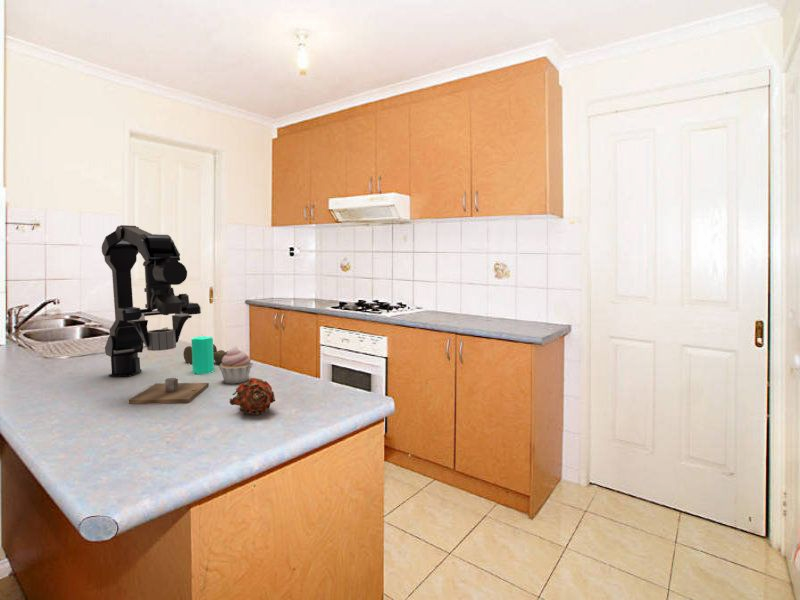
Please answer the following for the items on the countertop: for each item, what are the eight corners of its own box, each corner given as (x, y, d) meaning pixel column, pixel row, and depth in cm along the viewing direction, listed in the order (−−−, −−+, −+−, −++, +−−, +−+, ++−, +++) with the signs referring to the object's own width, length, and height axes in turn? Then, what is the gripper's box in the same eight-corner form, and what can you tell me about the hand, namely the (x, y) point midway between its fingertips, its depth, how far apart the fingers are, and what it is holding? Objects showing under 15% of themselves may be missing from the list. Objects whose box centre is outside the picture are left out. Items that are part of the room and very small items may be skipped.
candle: (206, 374, 137) (204, 335, 136) (188, 373, 139) (186, 334, 137) (218, 369, 143) (216, 331, 142) (200, 368, 144) (199, 330, 143)
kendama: (218, 370, 144) (175, 361, 153) (241, 365, 153) (199, 356, 162) (218, 352, 144) (175, 344, 153) (241, 347, 152) (199, 340, 161)
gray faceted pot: (142, 351, 115) (141, 331, 115) (155, 345, 122) (153, 327, 122) (169, 350, 116) (168, 330, 115) (180, 345, 123) (179, 327, 122)
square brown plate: (128, 403, 111) (128, 387, 110) (155, 387, 125) (155, 372, 124) (188, 403, 112) (188, 386, 111) (208, 386, 125) (208, 371, 125)
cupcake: (260, 380, 131) (259, 346, 130) (230, 387, 124) (229, 351, 123) (242, 374, 137) (241, 341, 136) (212, 381, 130) (211, 346, 129)
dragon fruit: (266, 427, 101) (239, 421, 109) (291, 397, 106) (263, 393, 114) (242, 401, 97) (216, 397, 105) (268, 371, 102) (241, 369, 110)
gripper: (129, 286, 105) (133, 354, 106) (209, 283, 119) (212, 342, 120) (113, 285, 112) (117, 348, 114) (189, 282, 126) (192, 338, 128)
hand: (162, 344), depth 119 cm, fingers closed on gray faceted pot, 7 cm apart
